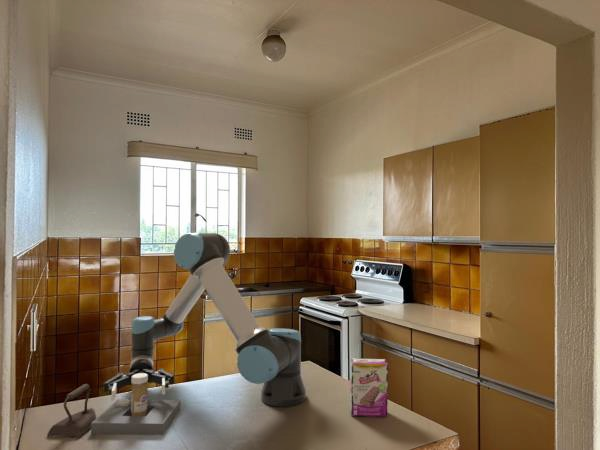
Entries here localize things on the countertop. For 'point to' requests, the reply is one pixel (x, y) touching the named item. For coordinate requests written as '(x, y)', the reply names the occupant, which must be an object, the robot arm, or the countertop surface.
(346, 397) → the countertop surface
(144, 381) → the sprinkles bottle
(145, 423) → the socket plate
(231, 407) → the countertop surface
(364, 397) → the candy bar box
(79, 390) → the clothes iron
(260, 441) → the countertop surface
